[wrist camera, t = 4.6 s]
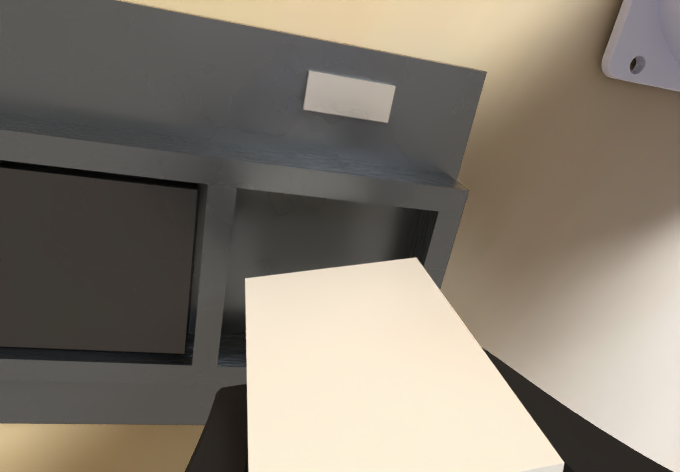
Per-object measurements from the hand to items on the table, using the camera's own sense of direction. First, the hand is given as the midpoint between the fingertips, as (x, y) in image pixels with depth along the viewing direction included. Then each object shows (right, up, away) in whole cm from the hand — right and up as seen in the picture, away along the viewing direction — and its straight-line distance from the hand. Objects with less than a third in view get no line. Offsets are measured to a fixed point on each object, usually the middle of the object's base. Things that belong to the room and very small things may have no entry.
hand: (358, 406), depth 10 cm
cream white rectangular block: (0, +1, +2) cm, 3 cm away
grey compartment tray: (-7, +3, +5) cm, 9 cm away
